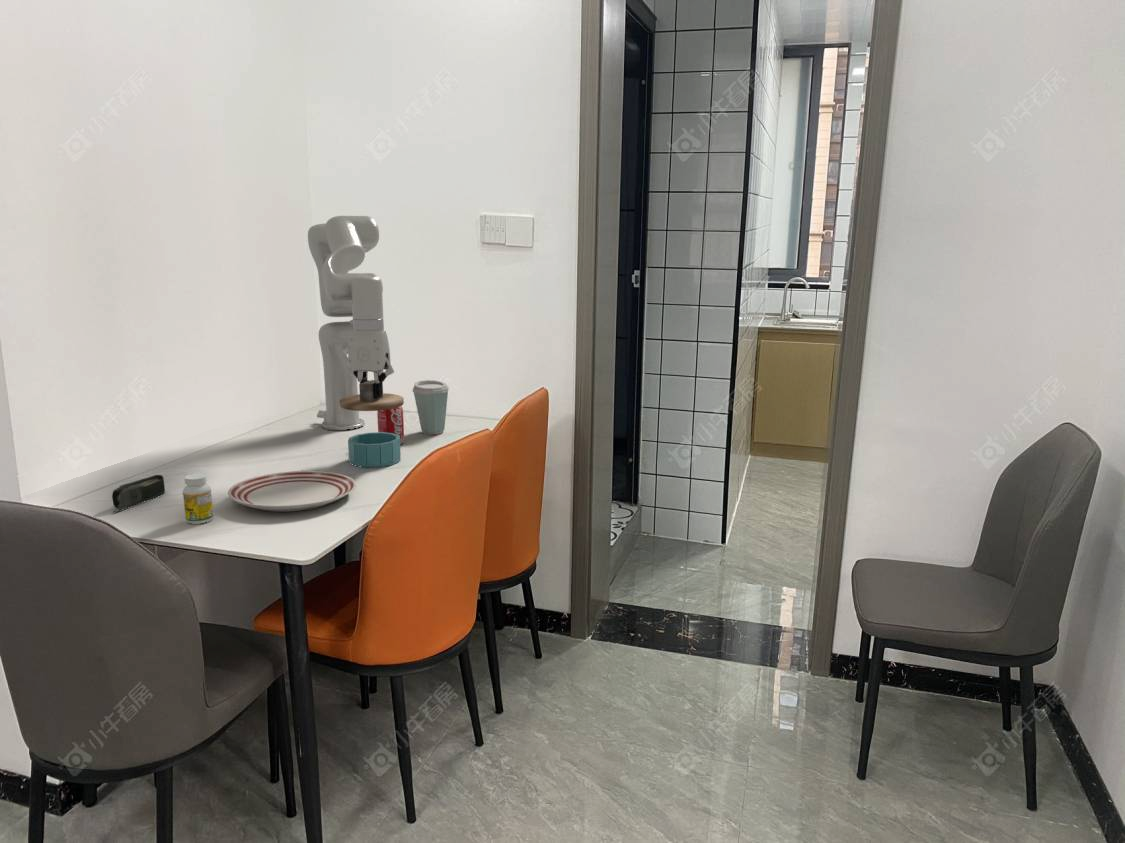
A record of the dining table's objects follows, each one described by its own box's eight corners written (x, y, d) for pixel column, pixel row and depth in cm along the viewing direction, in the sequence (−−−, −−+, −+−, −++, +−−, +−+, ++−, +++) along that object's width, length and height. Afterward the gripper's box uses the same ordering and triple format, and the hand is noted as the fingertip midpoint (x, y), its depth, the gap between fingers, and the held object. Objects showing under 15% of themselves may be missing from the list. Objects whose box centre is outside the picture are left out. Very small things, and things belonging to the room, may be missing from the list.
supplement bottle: (218, 520, 176) (214, 476, 174) (193, 526, 172) (188, 482, 170) (206, 514, 179) (202, 471, 177) (181, 520, 175) (176, 476, 173)
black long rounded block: (155, 472, 193) (103, 490, 179) (166, 473, 192) (115, 491, 178) (157, 493, 194) (106, 512, 180) (168, 494, 193) (117, 514, 179)
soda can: (407, 441, 239) (405, 400, 237) (400, 447, 232) (398, 405, 230) (383, 440, 240) (381, 399, 237) (375, 447, 233) (373, 404, 230)
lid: (326, 407, 212) (325, 385, 211) (363, 395, 226) (362, 374, 225) (381, 413, 206) (380, 390, 205) (415, 400, 221) (414, 379, 220)
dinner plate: (291, 475, 208) (290, 462, 207) (381, 491, 196) (380, 477, 195) (201, 508, 184) (199, 493, 183) (297, 528, 172) (296, 513, 171)
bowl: (339, 464, 216) (338, 441, 215) (367, 451, 228) (366, 430, 227) (383, 469, 212) (382, 446, 210) (409, 456, 224) (409, 435, 222)
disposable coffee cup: (457, 432, 250) (456, 382, 246) (429, 439, 242) (428, 387, 239) (434, 426, 257) (433, 378, 253) (406, 432, 249) (404, 382, 245)
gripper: (332, 325, 211) (336, 397, 215) (388, 329, 205) (391, 402, 210) (349, 322, 218) (353, 392, 222) (404, 325, 212) (407, 397, 217)
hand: (371, 396), depth 216 cm, fingers closed on lid, 3 cm apart
